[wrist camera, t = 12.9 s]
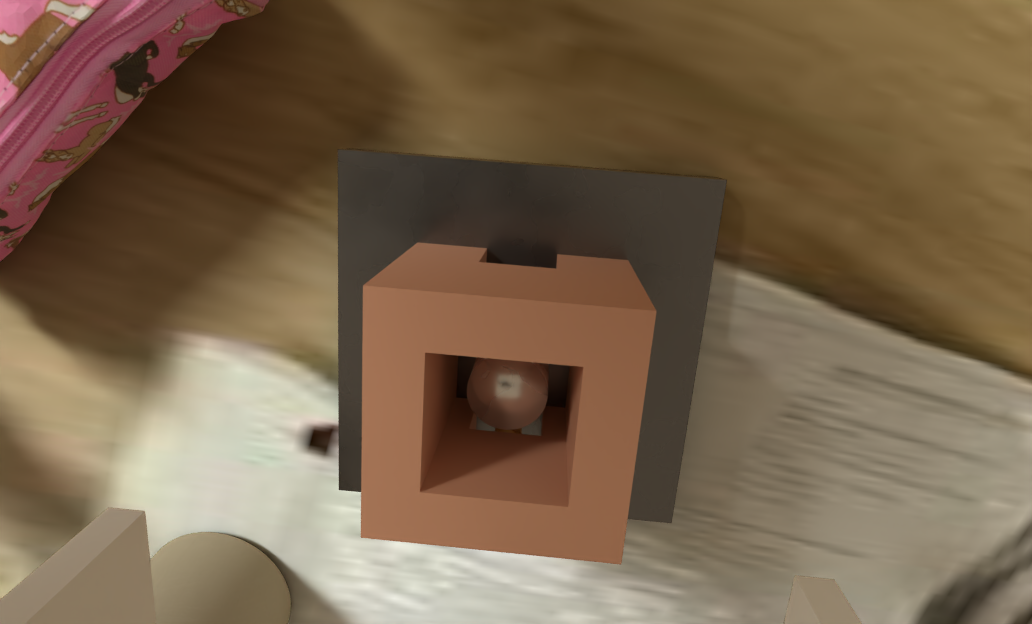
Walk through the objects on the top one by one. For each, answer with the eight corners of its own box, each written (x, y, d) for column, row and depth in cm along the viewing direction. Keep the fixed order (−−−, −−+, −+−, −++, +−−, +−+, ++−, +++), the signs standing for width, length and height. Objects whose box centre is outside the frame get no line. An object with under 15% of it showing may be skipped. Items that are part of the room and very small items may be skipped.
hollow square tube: (411, 433, 30) (360, 537, 22) (417, 242, 27) (362, 285, 20) (604, 451, 29) (621, 564, 22) (628, 260, 27) (656, 311, 19)
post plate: (348, 473, 32) (298, 555, 26) (349, 148, 28) (289, 153, 22) (666, 505, 32) (692, 597, 25) (717, 177, 27) (765, 190, 21)
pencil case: (27, 322, 31) (-171, 394, 23) (-128, 177, 30) (-402, 195, 21) (326, 6, 27) (217, -53, 18) (160, -187, 25) (-45, -350, 17)
